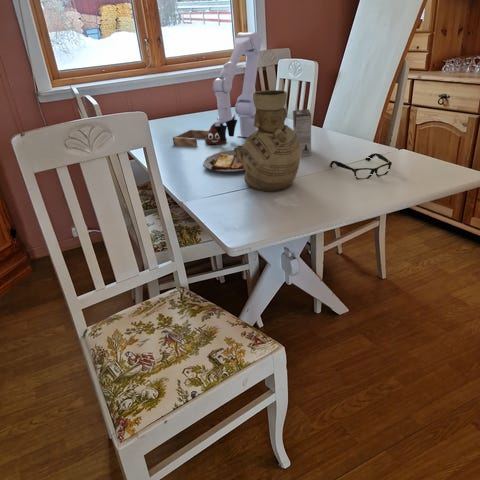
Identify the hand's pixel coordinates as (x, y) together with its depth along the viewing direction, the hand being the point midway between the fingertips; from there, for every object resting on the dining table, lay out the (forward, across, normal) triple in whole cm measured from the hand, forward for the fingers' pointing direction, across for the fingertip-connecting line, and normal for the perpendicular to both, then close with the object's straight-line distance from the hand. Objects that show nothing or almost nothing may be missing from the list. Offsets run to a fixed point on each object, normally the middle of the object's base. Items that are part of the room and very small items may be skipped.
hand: (227, 138), depth 188 cm
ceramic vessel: (+3, +41, +40) cm, 58 cm away
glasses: (+3, +19, +64) cm, 67 cm away
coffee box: (+3, +5, +38) cm, 38 cm away
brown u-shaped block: (+2, 0, -18) cm, 18 cm away
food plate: (+3, +25, +18) cm, 31 cm away
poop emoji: (+3, 0, -6) cm, 7 cm away
